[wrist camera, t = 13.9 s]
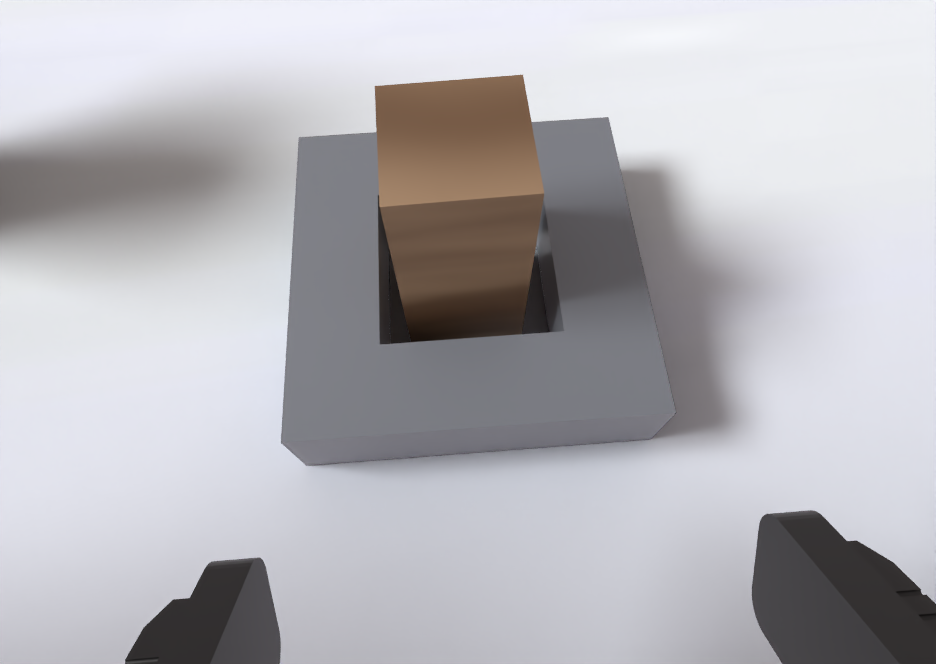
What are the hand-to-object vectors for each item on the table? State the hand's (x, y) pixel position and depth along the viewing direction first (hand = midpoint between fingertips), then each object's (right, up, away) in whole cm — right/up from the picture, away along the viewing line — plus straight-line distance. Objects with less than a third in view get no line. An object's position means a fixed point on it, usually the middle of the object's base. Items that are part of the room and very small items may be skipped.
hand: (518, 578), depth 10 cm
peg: (-1, +5, +14) cm, 15 cm away
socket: (-1, +5, +14) cm, 15 cm away
